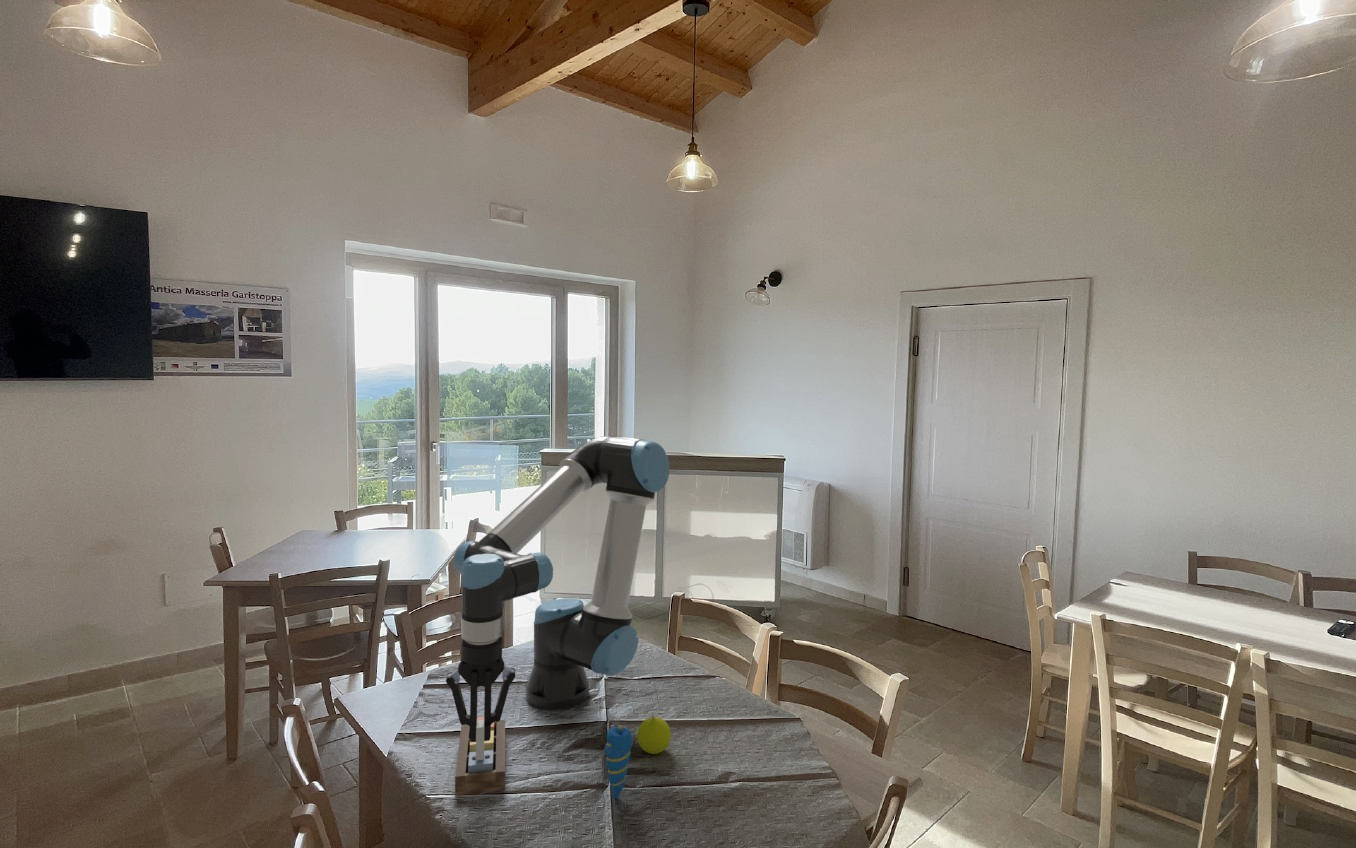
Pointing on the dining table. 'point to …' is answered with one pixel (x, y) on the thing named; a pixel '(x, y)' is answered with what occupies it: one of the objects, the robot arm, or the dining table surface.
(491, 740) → the tile two
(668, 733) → the yellow pointed oval
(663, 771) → the dining table surface
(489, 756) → the tile three
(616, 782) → the ornament
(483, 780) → the key strip
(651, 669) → the dining table surface
